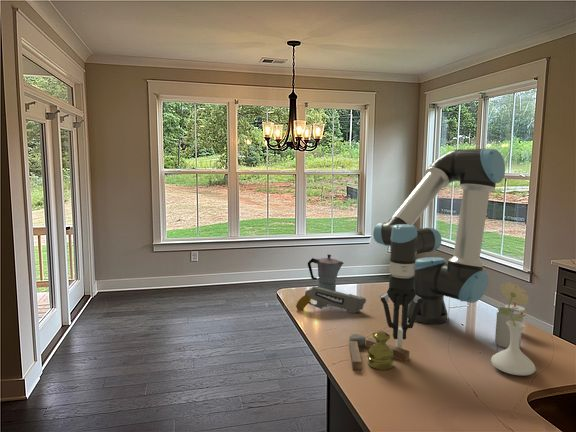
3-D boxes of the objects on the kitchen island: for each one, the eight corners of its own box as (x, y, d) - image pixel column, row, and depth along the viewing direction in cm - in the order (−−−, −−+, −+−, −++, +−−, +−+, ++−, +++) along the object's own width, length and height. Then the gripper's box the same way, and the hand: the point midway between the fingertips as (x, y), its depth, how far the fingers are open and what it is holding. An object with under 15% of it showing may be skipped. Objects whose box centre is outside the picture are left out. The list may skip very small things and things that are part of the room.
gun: (351, 333, 167) (367, 300, 165) (294, 310, 167) (309, 276, 165) (351, 330, 170) (366, 297, 168) (294, 307, 170) (309, 274, 168)
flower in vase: (545, 378, 116) (552, 290, 113) (507, 381, 114) (514, 292, 111) (512, 356, 129) (518, 277, 126) (478, 359, 127) (484, 279, 124)
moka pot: (344, 303, 177) (345, 257, 175) (307, 303, 177) (308, 256, 175) (341, 296, 187) (342, 252, 184) (306, 295, 187) (307, 251, 184)
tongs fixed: (364, 341, 139) (364, 334, 139) (371, 370, 120) (372, 362, 119) (348, 341, 139) (348, 333, 139) (352, 369, 120) (352, 361, 120)
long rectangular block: (369, 344, 137) (370, 337, 136) (409, 359, 127) (409, 351, 127) (365, 347, 135) (365, 339, 135) (405, 361, 125) (405, 353, 125)
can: (518, 342, 139) (520, 307, 138) (522, 352, 132) (525, 315, 131) (493, 339, 142) (495, 305, 140) (496, 348, 135) (498, 312, 133)
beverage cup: (525, 335, 145) (528, 296, 143) (506, 334, 146) (509, 295, 144) (519, 329, 151) (522, 291, 149) (501, 327, 152) (503, 290, 150)
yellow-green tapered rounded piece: (376, 356, 129) (377, 325, 127) (398, 364, 123) (399, 332, 122) (362, 364, 123) (363, 331, 122) (384, 373, 118) (385, 339, 117)
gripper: (382, 277, 125) (379, 353, 128) (426, 279, 124) (423, 354, 127) (378, 271, 132) (376, 342, 135) (420, 272, 131) (417, 344, 134)
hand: (398, 348), depth 131 cm, fingers closed
